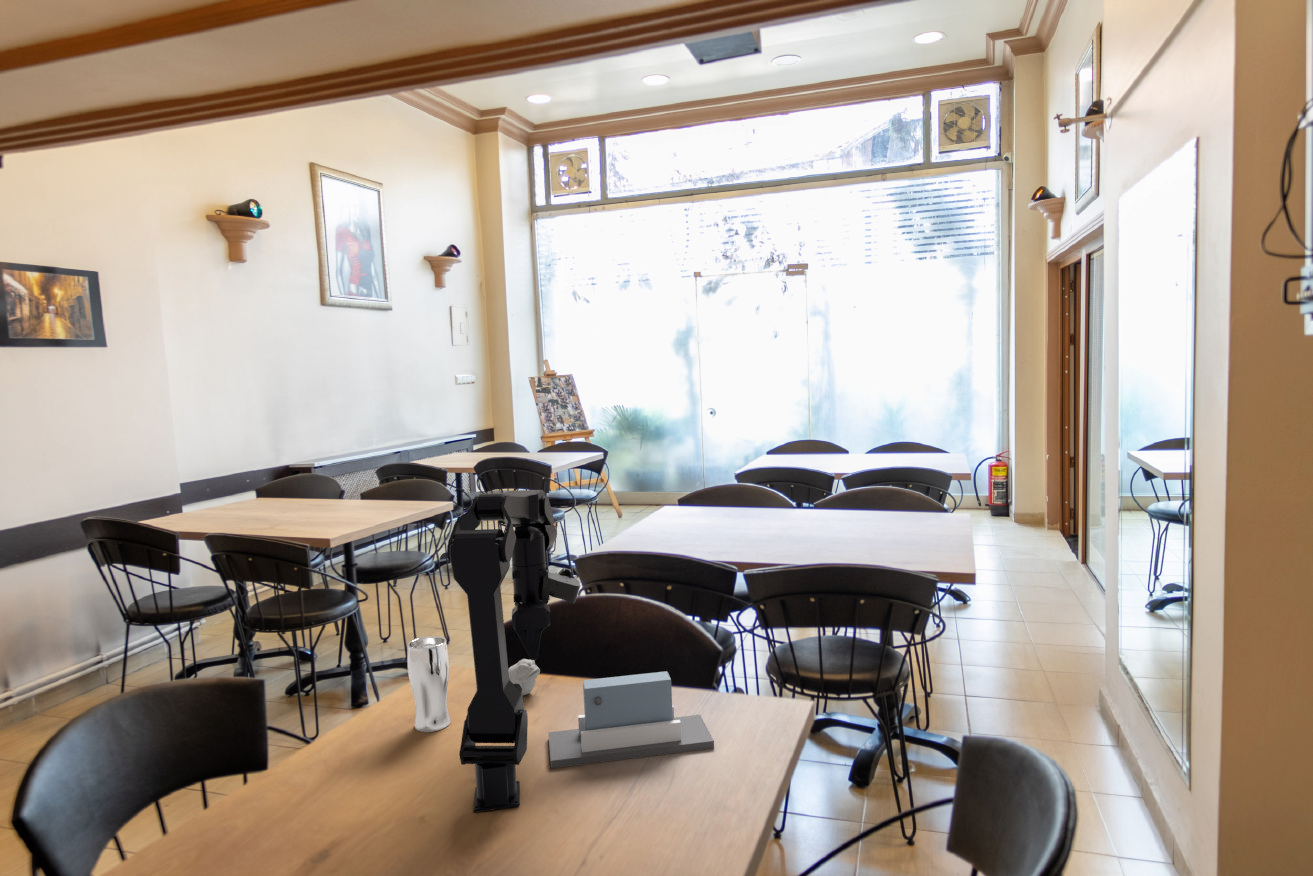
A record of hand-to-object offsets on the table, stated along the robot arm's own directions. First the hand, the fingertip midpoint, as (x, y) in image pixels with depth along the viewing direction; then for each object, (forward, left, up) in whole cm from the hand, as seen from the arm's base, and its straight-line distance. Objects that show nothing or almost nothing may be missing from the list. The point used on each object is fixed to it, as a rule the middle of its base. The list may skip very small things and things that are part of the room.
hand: (534, 650), depth 139 cm
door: (-12, -15, -12) cm, 22 cm away
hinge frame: (-12, -15, -13) cm, 23 cm away
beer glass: (+4, +18, -13) cm, 23 cm away
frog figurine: (+13, +2, -13) cm, 19 cm away
